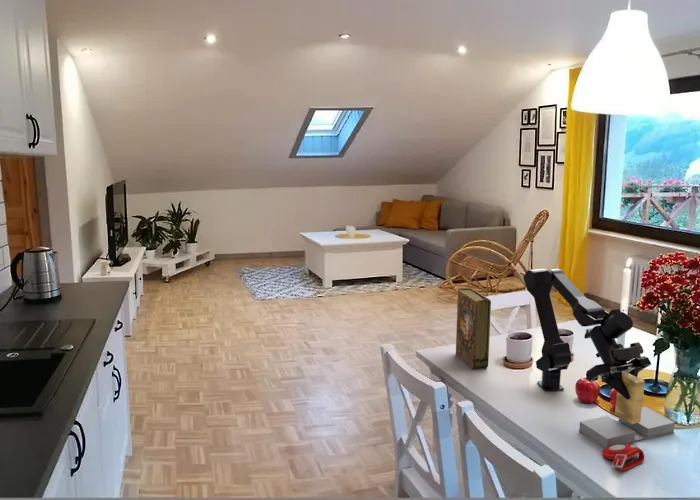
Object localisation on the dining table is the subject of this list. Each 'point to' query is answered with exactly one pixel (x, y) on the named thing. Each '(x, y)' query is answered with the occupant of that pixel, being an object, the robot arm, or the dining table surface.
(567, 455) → the dining table surface
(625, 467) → the tracker holder
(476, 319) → the book
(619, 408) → the ochre block
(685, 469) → the dining table surface
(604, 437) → the slotted board
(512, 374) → the dining table surface
